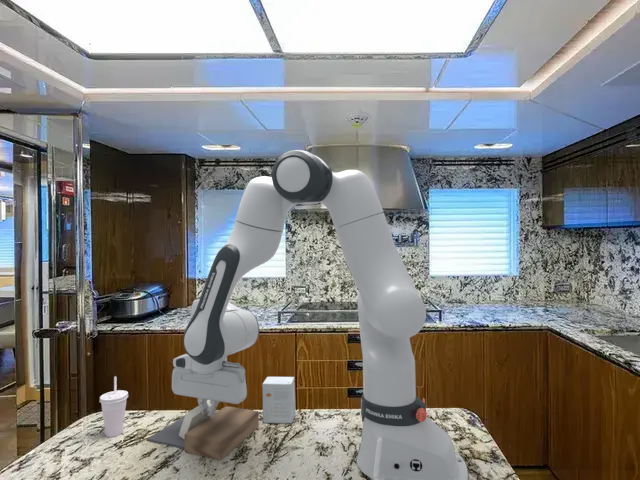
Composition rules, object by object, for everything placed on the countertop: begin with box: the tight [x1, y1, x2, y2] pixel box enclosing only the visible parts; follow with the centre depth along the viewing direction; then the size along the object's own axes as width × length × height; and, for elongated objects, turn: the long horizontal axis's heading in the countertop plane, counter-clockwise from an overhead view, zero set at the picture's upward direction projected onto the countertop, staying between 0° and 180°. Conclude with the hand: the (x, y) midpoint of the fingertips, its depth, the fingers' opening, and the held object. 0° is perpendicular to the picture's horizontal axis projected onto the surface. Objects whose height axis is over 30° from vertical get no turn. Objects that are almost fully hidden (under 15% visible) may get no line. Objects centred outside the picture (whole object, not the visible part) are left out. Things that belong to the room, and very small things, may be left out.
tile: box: [179, 400, 212, 440], centre depth 93 cm, size 6×9×2 cm
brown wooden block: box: [184, 405, 260, 461], centre depth 90 cm, size 10×16×4 cm, turn 159°
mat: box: [147, 415, 185, 450], centre depth 94 cm, size 12×14×1 cm
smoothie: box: [98, 376, 129, 438], centre depth 94 cm, size 6×6×14 cm
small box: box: [262, 376, 296, 424], centre depth 100 cm, size 8×6×10 cm
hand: (208, 415), depth 92 cm, fingers closed
